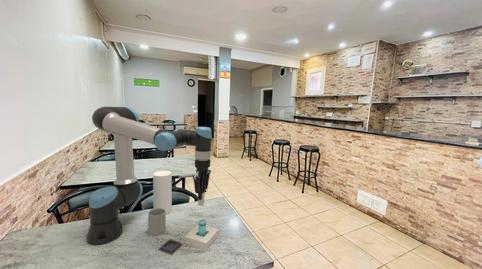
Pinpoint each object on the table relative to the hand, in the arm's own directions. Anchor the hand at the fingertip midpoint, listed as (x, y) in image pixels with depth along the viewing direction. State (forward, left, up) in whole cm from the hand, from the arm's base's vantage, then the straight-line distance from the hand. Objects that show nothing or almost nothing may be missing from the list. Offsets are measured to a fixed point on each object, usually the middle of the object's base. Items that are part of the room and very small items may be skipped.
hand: (200, 204), depth 101 cm
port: (+2, -2, -18) cm, 18 cm away
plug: (+2, -2, -18) cm, 18 cm away
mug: (-24, -4, -18) cm, 30 cm away
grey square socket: (-8, -13, -18) cm, 23 cm away
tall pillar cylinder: (-36, +12, -18) cm, 42 cm away
